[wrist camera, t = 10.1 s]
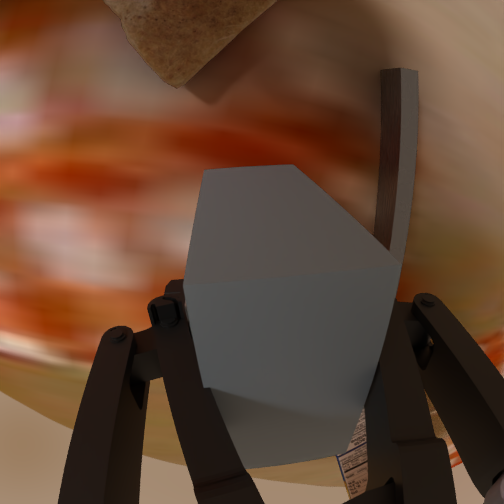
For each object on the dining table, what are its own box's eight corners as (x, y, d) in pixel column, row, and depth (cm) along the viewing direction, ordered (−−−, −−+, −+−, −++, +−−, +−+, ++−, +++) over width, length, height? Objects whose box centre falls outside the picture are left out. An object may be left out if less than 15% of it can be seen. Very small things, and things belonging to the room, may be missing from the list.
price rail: (362, 312, 30) (373, 331, 27) (380, 69, 20) (400, 67, 17) (377, 310, 30) (390, 328, 27) (399, 72, 20) (420, 71, 17)
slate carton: (204, 170, 17) (182, 285, 7) (297, 164, 18) (410, 263, 7) (218, 304, 21) (225, 470, 11) (295, 297, 22) (351, 451, 11)
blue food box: (365, 362, 33) (442, 532, 14) (394, 396, 38) (456, 527, 18) (315, 393, 35) (368, 564, 15) (353, 421, 39) (401, 553, 19)
